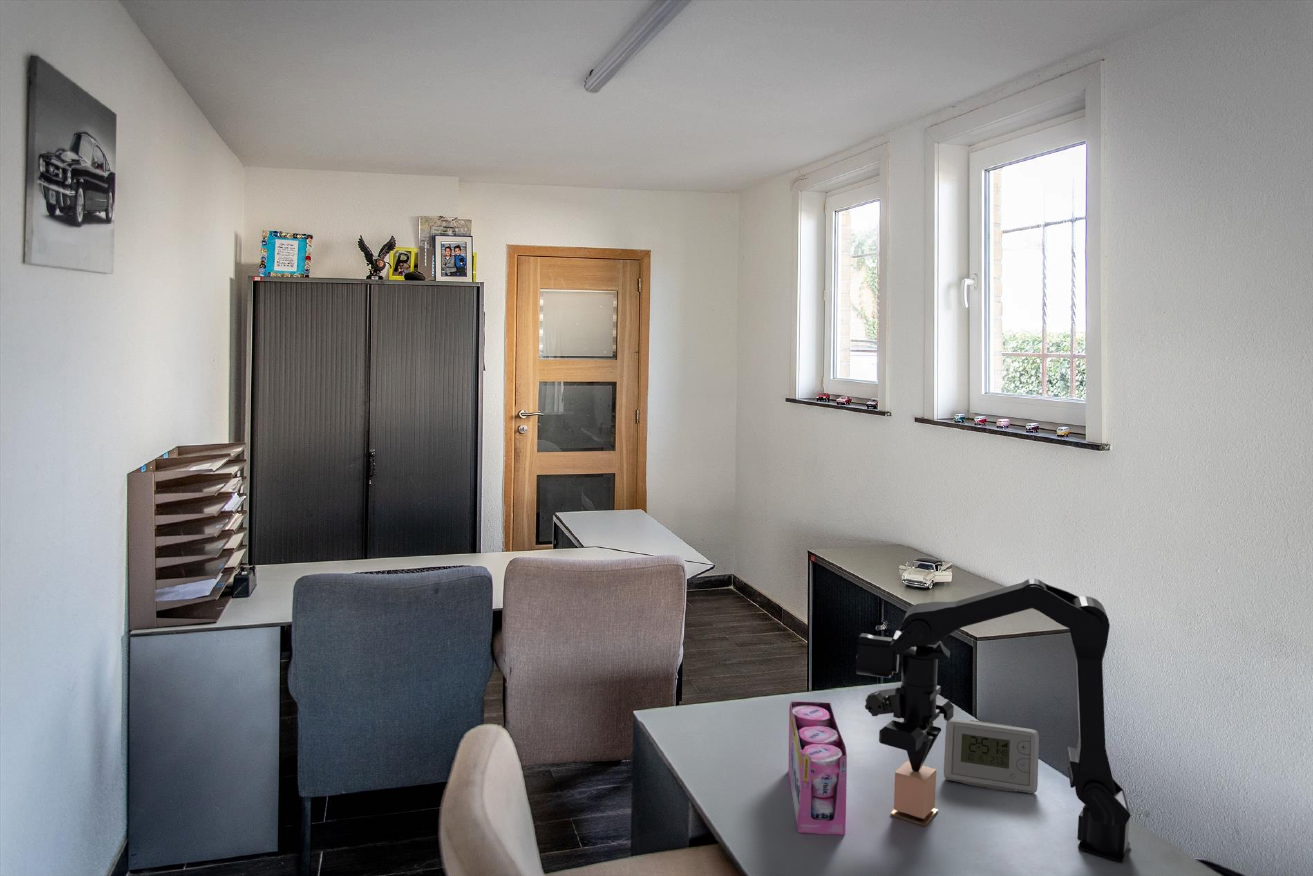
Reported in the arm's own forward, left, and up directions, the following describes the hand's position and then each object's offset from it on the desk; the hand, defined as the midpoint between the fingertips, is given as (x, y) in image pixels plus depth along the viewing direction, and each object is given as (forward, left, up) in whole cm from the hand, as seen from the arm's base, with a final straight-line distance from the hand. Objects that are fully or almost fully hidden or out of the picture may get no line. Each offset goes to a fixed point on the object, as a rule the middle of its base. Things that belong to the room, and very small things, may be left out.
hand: (915, 770), depth 155 cm
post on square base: (0, 0, -8) cm, 8 cm away
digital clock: (-7, -19, -8) cm, 22 cm away
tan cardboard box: (0, 0, -7) cm, 7 cm away
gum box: (+16, +6, -8) cm, 19 cm away
